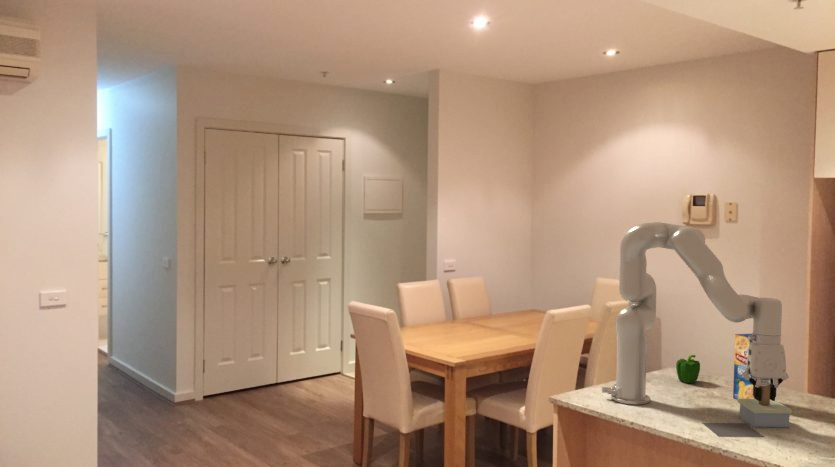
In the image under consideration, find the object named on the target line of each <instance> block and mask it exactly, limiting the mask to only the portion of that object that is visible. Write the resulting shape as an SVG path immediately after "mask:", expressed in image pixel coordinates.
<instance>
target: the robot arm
mask: <svg viewBox="0 0 835 467" xmlns="http://www.w3.org/2000/svg"><path fill="white" fill-rule="evenodd" d="M656 248H660V249H661V248H662V249H667V250H673V251H674V252H676V254H677V255H678V256H679V257H680V259H681V260H682V261H683V263H685V264H686V266H687V268H689V270H690V271H691V272H692V273H693V274H694V276H695V277H696V278H697V280H698V281H699V284H700V286H701V287H702V289H703V291H704V292H705V294H706V296H707V298H708V299H709V300H710V302H711V303H712V304H713V305H714V307H715V308H716V309H717V310H718V311H719V313H720V314H721V315H722V316H723V317H724V318H725V319H726V320H728V321H729V322H733V323H741V322H744V321H745V320H748V319H749V320H750V319H753V323H752V324H753V325H752V333H751V334H752V335H749V336H748V338H749V340H752V341H753V342H751V343H750V347H749V351H748V356H747V366H746V369H745V371H744V373H743V374H742V377H743V378H745V379H747V380H748V381H749V382H750V383H751V384H752V385H753V396H754V398H755V399H756V400H758V401H760V400H761V388H760V382H761V378H769V379H770V385H769V386H770V400H772V401H775V400H776V397H777V388H779V386H780V385H781V384H782V383H783V382H784V381H787V379H789V375H788V373H787V362H786V361H787V360H786V352H785V351H786V350H785V345H783V344H782V343H781V340H782V318H783V317H782V316H783V314H782V313H783V303H782V301H781V300H779V299H778V298H772V297H757V296H752V295H748V294H742V293H741V294H738V293H737V292H736V291H735V290H734V288H733V287H732V286H731V284H730V283H729V281H728V280H727V278H726V276H725V272H724V266H723V264H722V261H721V260H720V259H719V258H718V256H716V254H715V253H714V252H713V251H712V250H711V249H710V248H709V246H708V245H707V244H706V237H705V234H704V233H703V232H702V230H700V229H699V228H697V227H694V226H687V225H679V224H673V223H665V222H661V221H660V222H659V221H657V222H656V221H654V222H644V223H640V224H638V225H635V226H633V227H632V228H629V230H627V231H626V232H625V234H624V235H623V237H622V239H621V242H620V246H619V278H618V280H619V282H618V283H619V284H618V288H619V290H618V291H619V294H620V297H621V298H622V299H623V300H624V301H626V302H628V306H626V307H624V308H622V309H621V310H620V311H619V312H618V313H617V315H616V317H615V333H616V372H615V375H616V376H615V377H616V378H615V381H616V382H615V383H613V385H612V386H602V387H601V393H603V394H607V395H610V397H611V400H613V401H615V402H617V403H620V404H626V405H635V406H636V405H637V406H638V405H646V404H649V403H650V402H651V397H650V396H649V395H648V394H646V390H647V389H646V388H647V387H646V386H647V346H648V345H647V338H646V331H647V330H649V329H651V328H652V327H653V326H654V324H655V322H656V319H657V284H656V281H655V279H654V277H652V275H651V274H649V273H648V272H647V266H648V265H647V256H646V252H647V250H651V249H656ZM749 374H750V375H752V376H753V378H751V377H750V376H749Z"/></svg>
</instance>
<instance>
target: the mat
mask: <svg viewBox="0 0 835 467" xmlns="http://www.w3.org/2000/svg"><path fill="white" fill-rule="evenodd" d="M702 424H703V426H705V427H707V428H708V429H709V431H711V432H712V433H713V434H715V435H716V436H717V437H719V438H765V435H763V434H761V433H760V432H759V431H757V430H756V429H754V427H752V426H751V425H750V424H748V423H747V422H702Z"/></svg>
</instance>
